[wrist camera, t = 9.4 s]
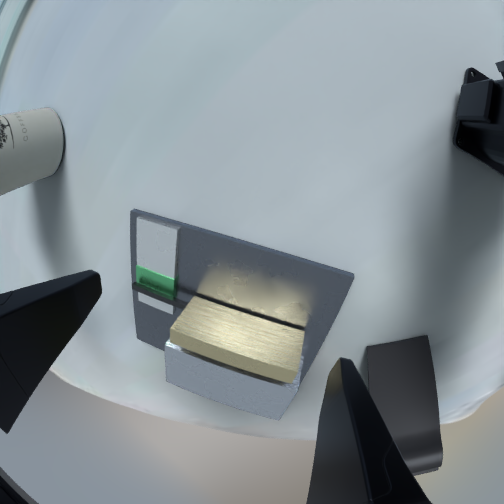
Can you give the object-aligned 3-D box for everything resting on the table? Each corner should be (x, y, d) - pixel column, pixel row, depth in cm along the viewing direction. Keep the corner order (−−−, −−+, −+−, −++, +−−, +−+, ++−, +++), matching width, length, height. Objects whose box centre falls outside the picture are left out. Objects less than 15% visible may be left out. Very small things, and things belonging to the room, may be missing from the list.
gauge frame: (353, 273, 20) (358, 309, 16) (293, 391, 28) (286, 424, 24) (134, 208, 23) (100, 227, 19) (139, 335, 30) (119, 360, 26)
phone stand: (418, 389, 24) (428, 482, 13) (368, 398, 26) (365, 493, 15) (427, 333, 21) (455, 446, 10) (366, 344, 23) (369, 464, 12)
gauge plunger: (304, 331, 23) (298, 371, 19) (280, 382, 26) (271, 418, 22) (137, 274, 25) (108, 300, 21) (141, 331, 28) (119, 358, 24)
